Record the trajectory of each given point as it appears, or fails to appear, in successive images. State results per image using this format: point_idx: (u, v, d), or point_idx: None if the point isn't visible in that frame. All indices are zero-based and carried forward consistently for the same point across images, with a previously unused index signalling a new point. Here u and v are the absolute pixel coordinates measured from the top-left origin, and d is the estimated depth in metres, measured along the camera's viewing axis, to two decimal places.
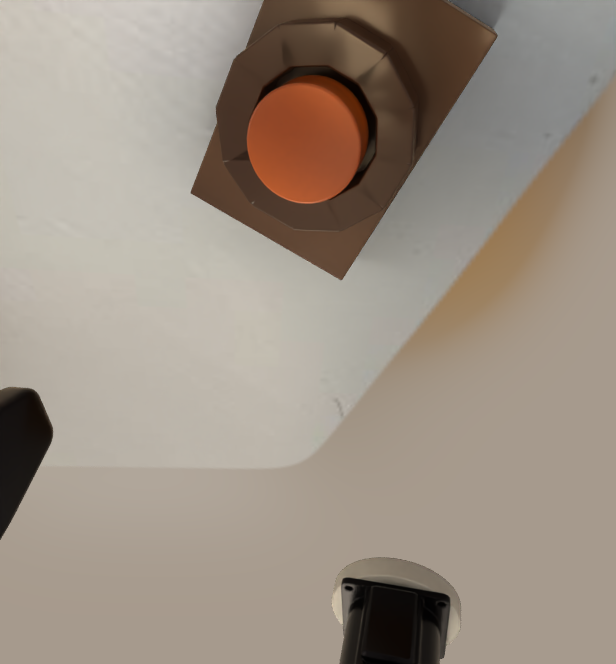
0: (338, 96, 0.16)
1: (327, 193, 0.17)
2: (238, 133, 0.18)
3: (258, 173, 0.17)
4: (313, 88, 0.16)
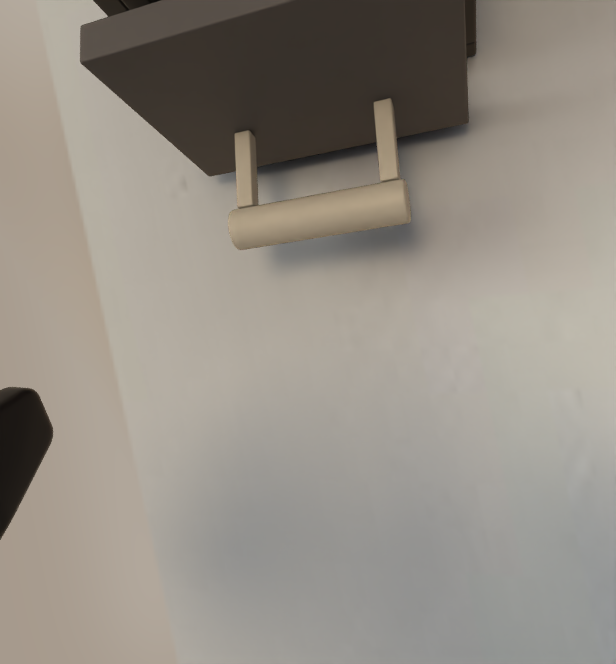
0: None
1: None
2: None
3: None
4: None
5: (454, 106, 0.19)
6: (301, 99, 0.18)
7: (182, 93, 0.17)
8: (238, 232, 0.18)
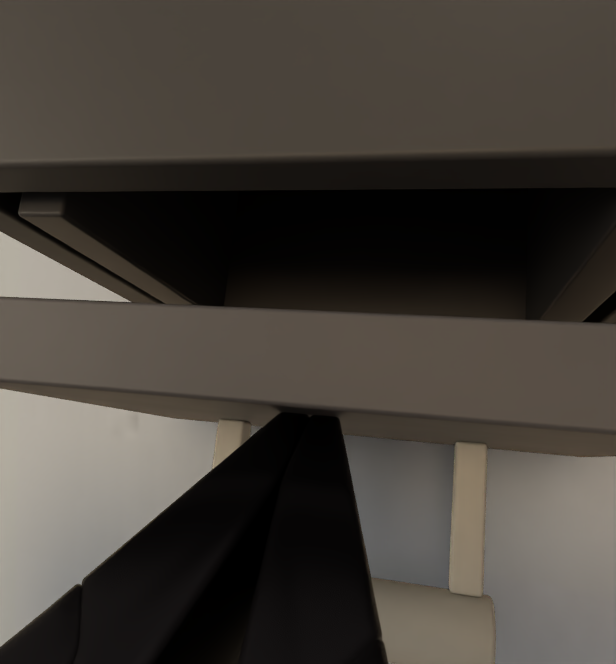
0: None
1: None
2: None
3: None
4: None
5: (578, 454, 0.11)
6: None
7: (133, 403, 0.09)
8: None
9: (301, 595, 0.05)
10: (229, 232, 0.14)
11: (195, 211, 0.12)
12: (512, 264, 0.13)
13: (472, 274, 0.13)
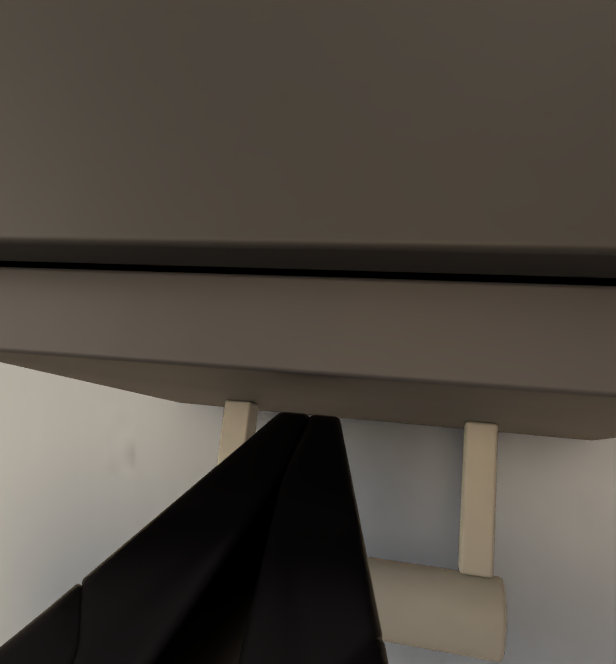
0: None
1: None
2: None
3: None
4: None
5: (589, 436, 0.11)
6: (348, 406, 0.10)
7: (140, 380, 0.09)
8: None
9: (301, 595, 0.05)
10: None
11: None
12: None
13: None
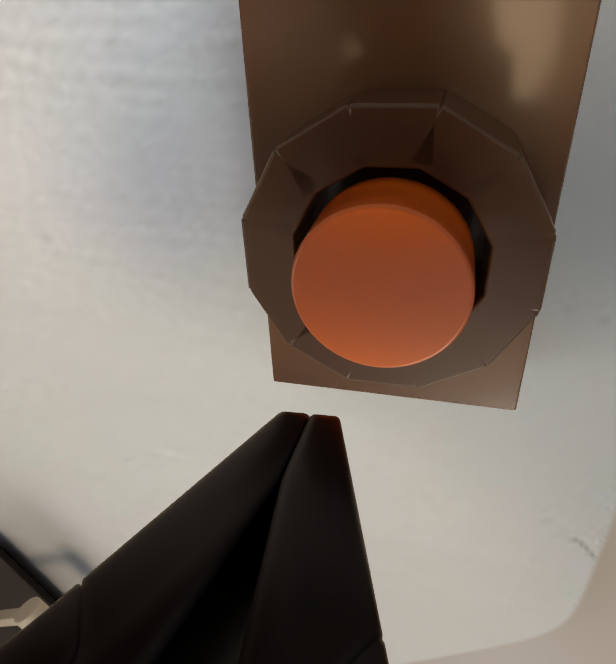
0: (397, 203, 0.10)
1: (445, 337, 0.11)
2: (290, 303, 0.13)
3: (335, 351, 0.12)
4: (356, 211, 0.10)
5: None
6: None
7: None
8: None
9: (301, 595, 0.05)
10: None
11: None
12: None
13: None
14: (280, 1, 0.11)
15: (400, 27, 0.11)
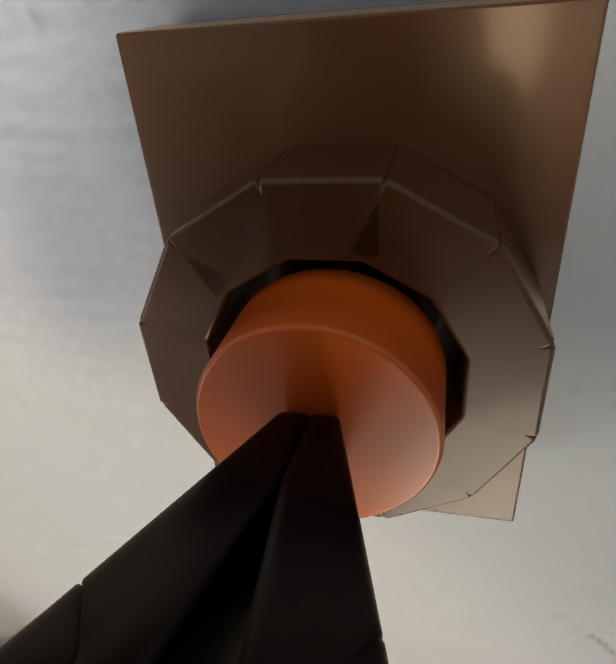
0: (327, 324, 0.07)
1: (408, 489, 0.08)
2: None
3: None
4: (270, 335, 0.07)
5: None
6: None
7: None
8: None
9: (301, 595, 0.05)
10: None
11: None
12: None
13: None
14: (170, 37, 0.08)
15: (331, 66, 0.08)
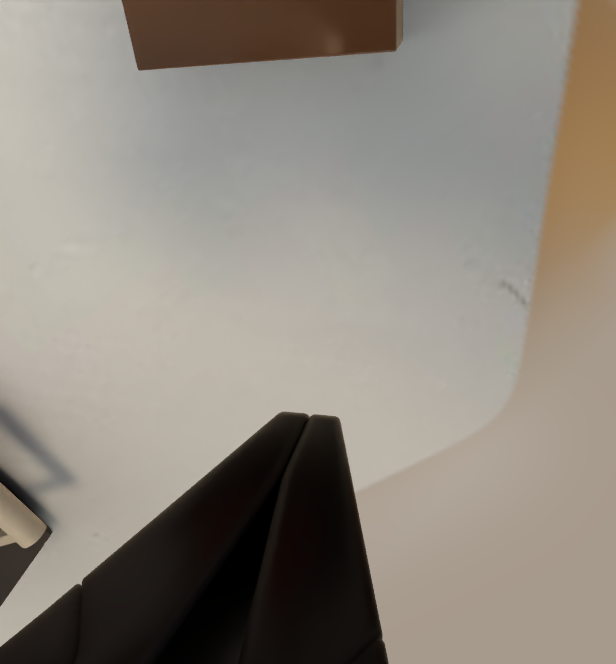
0: None
1: None
2: None
3: None
4: None
5: None
6: None
7: None
8: (26, 541, 0.27)
9: (301, 595, 0.05)
10: None
11: None
12: None
13: None
14: None
15: None
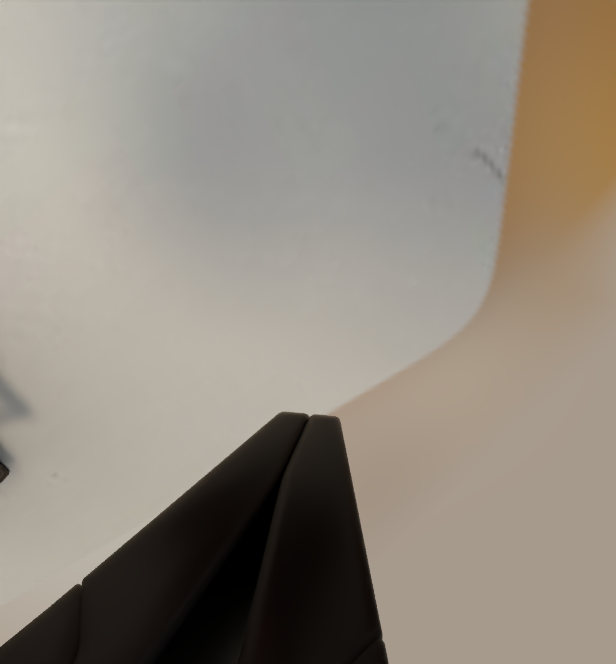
0: None
1: None
2: None
3: None
4: None
5: None
6: None
7: None
8: None
9: (301, 595, 0.05)
10: None
11: None
12: None
13: None
14: None
15: None
